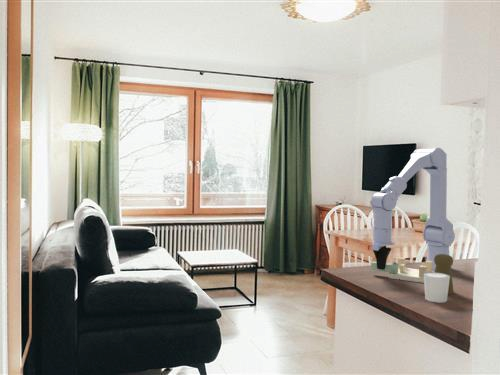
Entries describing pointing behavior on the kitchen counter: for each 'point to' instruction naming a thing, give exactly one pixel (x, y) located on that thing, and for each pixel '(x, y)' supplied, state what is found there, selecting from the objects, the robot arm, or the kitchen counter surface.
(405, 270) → the stool seat
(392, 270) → the hinged leg
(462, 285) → the kitchen counter surface
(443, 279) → the shot glass
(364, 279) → the kitchen counter surface
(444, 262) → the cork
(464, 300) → the kitchen counter surface
